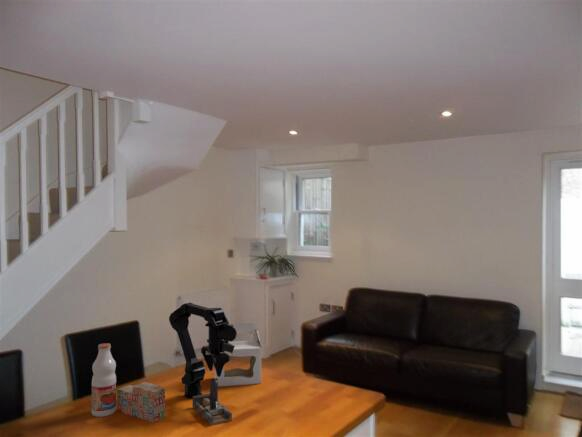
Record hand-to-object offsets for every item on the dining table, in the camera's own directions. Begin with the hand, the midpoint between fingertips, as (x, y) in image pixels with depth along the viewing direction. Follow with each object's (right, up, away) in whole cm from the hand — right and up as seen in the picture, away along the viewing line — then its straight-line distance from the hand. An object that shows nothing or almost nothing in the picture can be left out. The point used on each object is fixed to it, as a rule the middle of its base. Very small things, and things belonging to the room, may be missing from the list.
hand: (214, 373), depth 203 cm
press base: (0, -13, -11) cm, 17 cm away
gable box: (+6, -14, +30) cm, 33 cm away
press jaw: (+2, -12, -13) cm, 17 cm away
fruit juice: (-44, -13, -10) cm, 47 cm away
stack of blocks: (-28, -13, -12) cm, 33 cm away
